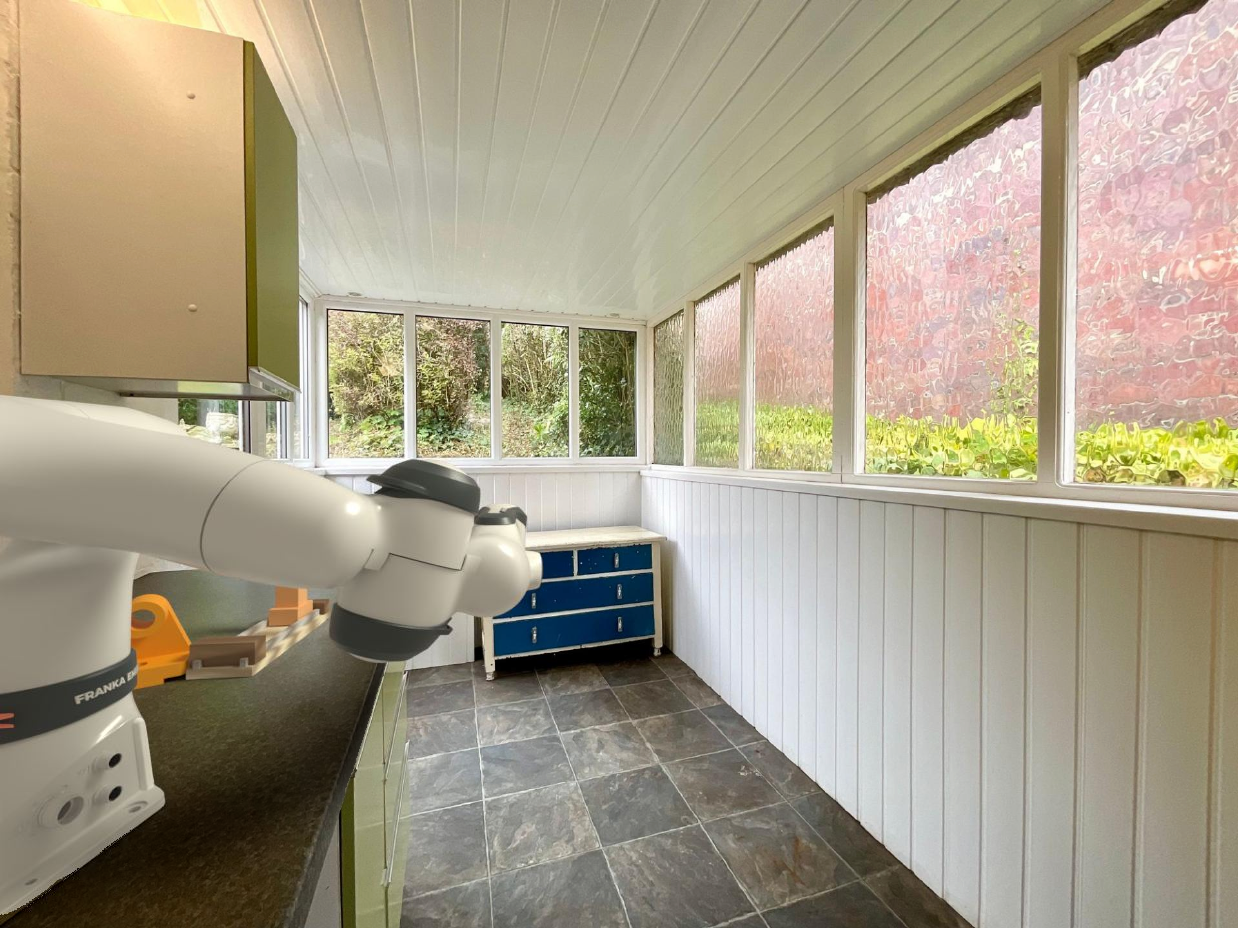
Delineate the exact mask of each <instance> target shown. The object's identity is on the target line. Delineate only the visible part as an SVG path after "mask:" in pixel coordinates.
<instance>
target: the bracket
mask: <svg viewBox="0 0 1238 928" xmlns="http://www.w3.org/2000/svg"><path fill="white" fill-rule="evenodd" d="M140 610H145V611H149V612H152V614H153V615H154V618H153V619H151V620H147V621H141V620H139V619H137V618H136V617H135V616H134V612H137V611H140ZM190 644H192V641H191V640H190V638H189V637H188V635H187V633H186V631H185V629H184V627H183V626H182V624H181V622H180V620H179V618H178V617H177V615H176V613H175V611H174V609H173V607H172V606H171V604H170V602H169V601H168V599H167V598H165V597H164V596H162V595H159V594H153V593H147V594H142V595H138V596H136V597H134V598H132V609H131V647H132V648H134V649H135V650H136V655H137V663H138V665H139V670H138V671H137V685H136V687H135V688H134V689H133V690H132V691H134V690H138V689H139V690H140V689H143V688H149V687H153V686H158V685H164V684H165V681H166V679H168V678H174V677H179V676H182V675H186V669H188V668H189V645H190Z"/></svg>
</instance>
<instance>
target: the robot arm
mask: <svg viewBox="0 0 1238 928" xmlns="http://www.w3.org/2000/svg"><path fill="white" fill-rule="evenodd" d="M365 481H367V482H370V483H371V484H374V485H377V486H379V487H381V488H379V489H377V490H375V491H374V492H373V493H371V494H370V493H363V492H359V491H356V490H353V489H350V488H348V487H346V486H344V485H341V484H339V483H337V482H335V481H333V480H331V479H328V478H327V477H326V478H325V477H323V476H321V475H318V474H316V473H314V472H311V471H309V470H305V469H303V468H301V467H297V466H293V465H291V464H288V463H284V462H281V461H277V460H274V459H269V458H267V457H263V456H260V455H256V454H253V453H250V452H249V453H248V452H246V451H242V450H240V449H239V450H238V449H235V448H231V447H228V446H224V445H221V444H218V443H214V442H210V441H206V440H204V439H199V438H196V437H191V436H190V435H189V434H188V433H187V432H186V430H184V429H183V428H182V427H181V426H180V425H179V424H177V423H175V422H173V421H171V420H170V419H166V418H163V417H160V416H157V415H154V414H150V413H148V412H145V411H142V410H141V411H140V410H137V409H134V408H130V407H126V406H118V405H108V404H99V403H88V402H81V401H79V402H78V401H69V400H59V399H49V398H48V399H47V398H36V397H35V398H34V397H26V396H16V395H9V394H8V395H5V394H0V537H4V538H8V539H9V538H10V539H9V541H8V543H7V545H5V547H4V548H3V549H2V550H1V552H0V915H1V914H2V915H4V914H8V913H9V912H12V911H14V910H17V908H20V907H21V906H23V905H26V903H29V901H32V899H34V898H35V897H37V896H38V895H40V894H41V893H42V892H44V891H45V890H47V889H48V888H49V887H50V886H51V885H53V884H54V883H55V882H56V881H57V880H59V879H62V878H63V877H65V876H67V875H69V874H71V873H72V872H74V871H75V870H76V871H78V870H77V868H79V869H80V868H82V867H83V866H84V865H86V864H87V863H89V862H90V861H91V860H92V859H94V858H95V857H97V856H98V855H100V854H101V853H103V851H102V850H104V848H106V847H107V846H109V845H110V846H112V845H111V843H113V842H114V841H116V840H117V839H118V840H120V839H121V838H123V837H124V836H125V835H127V834H128V833H130V832H131V831H132V830H133V829H136V827H138V826H139V825H140V824H142V823H143V822H144V821H146V820H147V819H148V818H150V817H151V816H153V815H154V814H156V813H157V812H158V811H159V810H161V808H162V807H164V805H165V803H166V798H165V792H164V791H163V790H162V788H160V787H158V786H157V785H156V784H155V779H154V775H153V768H152V767H153V766H152V761H151V760H152V759H151V753H150V752H151V751H150V746H149V745H150V743H149V738H148V732H147V725H146V722H145V719H144V718H143V716H142V715H141V712H140V711H139V708H138V706H137V704H136V701H135V699H134V694H133V691H134V690H135V689H134V688H135V687H136V685H137V671H138V670H139V665H138V663H137V655H136V650H135V649H134V648H132V647H131V609H132V600H133V588H134V587H133V586H134V577H135V573H136V568H137V565H138V564H137V563H138V561H139V558H140V555H144V556H149V557H151V558H154V559H155V558H156V559H159V560H164V561H167V562H172V563H174V564H179V565H183V566H186V567H189V568H194V569H196V570H197V569H198V570H201V571H205V572H209V573H212V574H216V575H220V576H223V577H227V578H232V579H235V580H240V581H244V582H249V583H255V584H260V585H267V586H272V587H273V586H274V587H275V586H279V587H288V588H298V589H307V590H312V591H313V590H317V591H320V590H321V591H323V590H324V591H325V590H331V589H334V588H338V587H340V591H339V595H338V599H337V601H336V602H334V603H333V604H332V608H331V611H330V618H329V629H328V630H329V631H328V635H329V638H330V640H331V641H332V643H334V645H335V647H337V648H338V649H339V650H341V651H344V652H345V653H347V654H350V655H351V656H353V657H354V658H357V659H360V660H362V661H365V662H368V663H377V664H378V663H379V664H388V663H394V662H396V663H397V662H407V661H408V660H411V659H413V658H415V657H416V656H419V654H422V653H424V652H425V651H427V650H428V649H429V648H431V646H433V644H434V643H435V642H436V641H437V640H438V639H439V637H440V636H448V635H451V633H452V632H453V630H454V629H453V627H452V626H450V625H449V623H450V622H451V621H452V619H453V616H454V615H455V614H456V613H464V614H467V615H469V616H471V617H472V616H473V617H478V618H493V617H497V616H500V615H503V614H505V613H507V612H510V610H512V609H513V608H514V607H516V606H517V605H519V603H520V602H521V600H522V599H523V598H524V596H525V595H526V592H527V591H532V590H536V589H539V588H540V586H541V584H542V582H543V575H544V565H543V557H542V555H541V553H540V552H537V551H531V550H527V549H526V533H527V531H526V530H527V526H528V524H527V522H528V515H527V514H526V513H525V512H524V511H523V510H522V508H520V506H516V505H514V504H511V503H505V502H497V503H491V504H487V505H485V506H482V507H481V508H480V504H481V488H480V486H479V485H478V483H477V481H476V480H475V479H474V478H473V477H472V476H469V475H468V474H467V473H466V472H465V471H463V470H462V469H460V468H459V467H457V466H456V465H454V464H451V463H448V462H446V461H443V460H437V459H427V458H426V459H415V458H411V459H407V460H404V461H401V462H398V463H396V464H393V465H391V466H389V467H388V468H387V469H386V470H384V472H382V473H381V474H380V475H378V474H370V475H368V477H367V478H366V479H365ZM133 689H134V690H133ZM130 830H131V831H130ZM126 833H127V834H126ZM124 834H125V835H124ZM123 835H124V836H123ZM122 836H123V837H122ZM120 837H121V838H120ZM119 838H120V839H119ZM118 840H117V841H118ZM117 841H116V842H117ZM114 843H115V842H114ZM114 843H113V844H114ZM110 846H109V847H110ZM106 849H107V848H106ZM100 852H101V853H100ZM76 871H75V872H76ZM75 872H74V873H75ZM72 874H73V873H72ZM72 874H71V875H72Z"/></svg>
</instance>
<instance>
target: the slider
mask: <svg viewBox="0 0 1238 928" xmlns="http://www.w3.org/2000/svg"><path fill="white" fill-rule="evenodd" d="M274 587H275V589H274V590H275V600H274V601H275V604H274V607H271V608H270V609H268V617H269V626H280V625H292V624H294V623H295V622H297V621H298V620H300V619H301V618H303V617H304V616H306V615H307V614H309V613H310V612H312V611H313V600H308V589H298V588H288V587H279V586H274Z"/></svg>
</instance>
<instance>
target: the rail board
mask: <svg viewBox="0 0 1238 928" xmlns="http://www.w3.org/2000/svg"><path fill="white" fill-rule="evenodd" d="M307 600H313V611H312V612H310V613H309V614H307V615H306V616H304V617H303V618H301V619H300V620H298V621H297V622H295V623H294V624H292V625H280V626H269V616H268V617H266V618H265V619H263V620H261V621H260V622H257V623H256V624H255V625H252V626H250V627H249V628H247V629H246V630H244V631H242V632H240V633H239V634H237V635H234V636H233V635H231V636H206V637H203V636H202V637H201V638H199V639H197V640H196V641H194V642H191V644H190V645H189V668H188V669H186V673H185V680H186V681H187V680H211V679H228V678H231V679H232V678H249V677H250V678H251V677H254V676H255V675H256V674H258V673H259V672H260V671H261V670H263V669H264V668H265V667H267V666H269V664H271V663H272V662H273V661H275V660H276V659H277V658H278V657H280V656H282V654H284V653H285V652H287V651H288V650H290V649H291V648H292V647H293V646H295V645H296V644H297V643H298V642H300V641H301V640H303V639H304V638H305V637H307V636H308V635H309V634H310V633H312V632H313V631H315V630H316V629H317V628H319V626H321V625H322V624H324V623H325V622H326V621H328V620H330V618H331V610H330V607H331V605H330V601H331V600H330V598H315V599H314V598H312V599H311V598H310V599H308V598H307ZM327 619H328V620H327Z"/></svg>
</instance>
